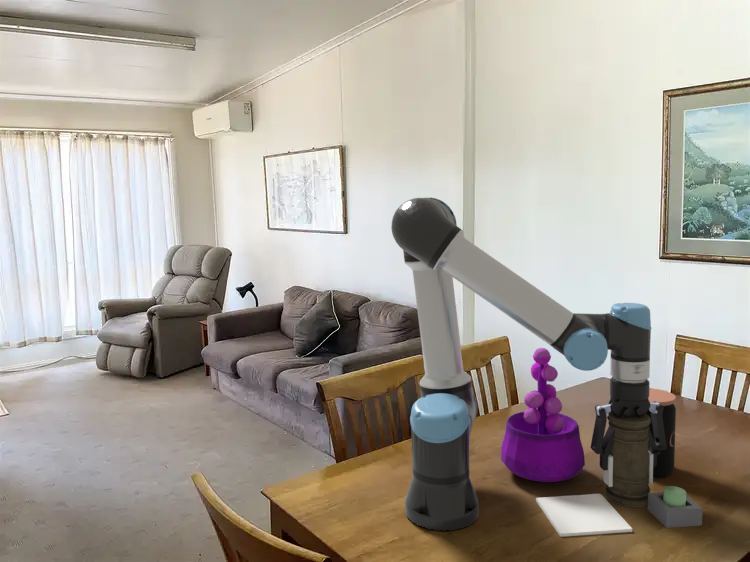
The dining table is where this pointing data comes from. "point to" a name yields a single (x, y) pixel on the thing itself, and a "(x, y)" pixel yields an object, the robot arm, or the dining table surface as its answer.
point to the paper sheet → (582, 515)
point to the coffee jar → (669, 418)
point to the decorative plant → (542, 432)
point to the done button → (674, 496)
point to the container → (629, 461)
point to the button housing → (675, 512)
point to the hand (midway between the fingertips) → (627, 482)
